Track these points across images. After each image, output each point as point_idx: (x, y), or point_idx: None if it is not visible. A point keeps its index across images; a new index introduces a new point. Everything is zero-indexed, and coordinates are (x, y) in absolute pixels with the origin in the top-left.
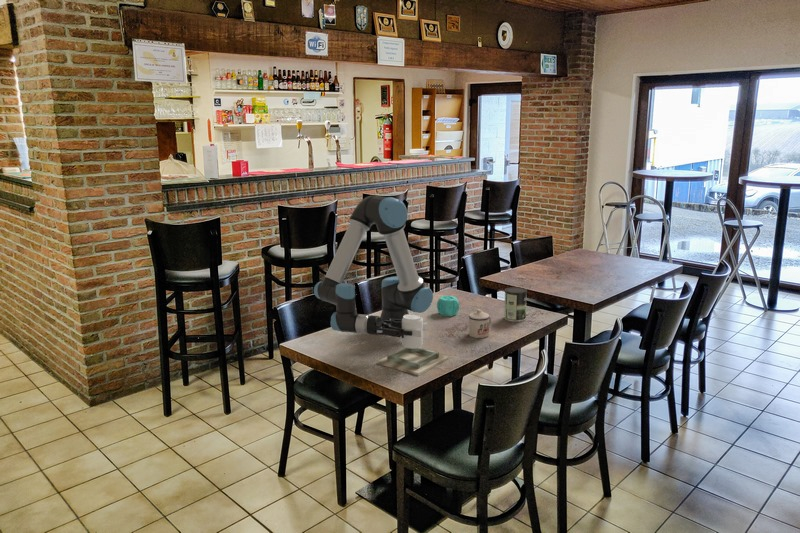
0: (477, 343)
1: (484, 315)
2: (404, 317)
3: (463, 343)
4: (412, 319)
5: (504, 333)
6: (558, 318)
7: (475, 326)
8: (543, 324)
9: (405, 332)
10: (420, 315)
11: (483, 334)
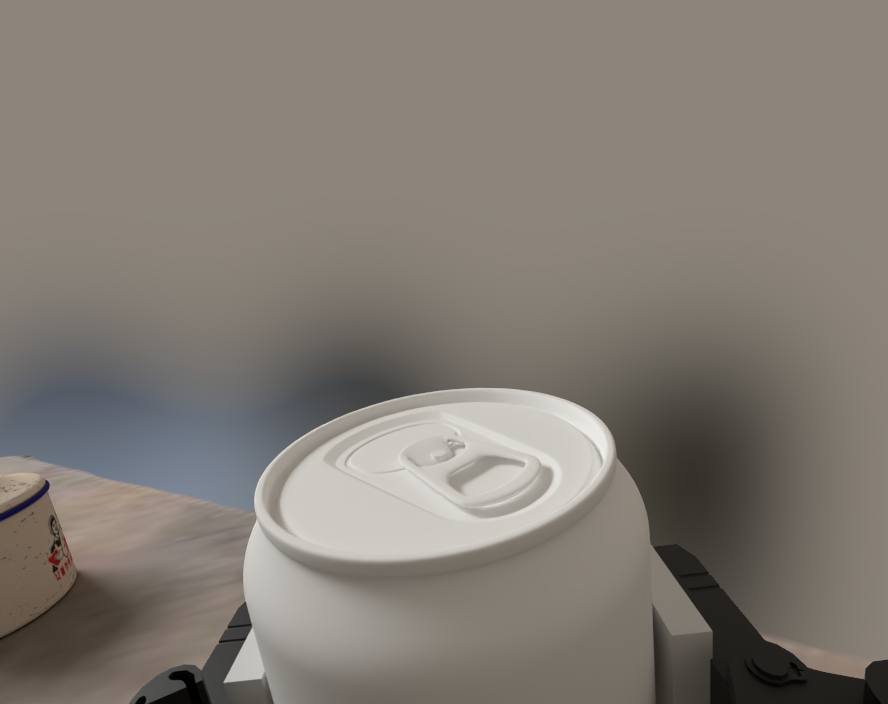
0: (147, 581)
1: (15, 475)
2: (512, 530)
3: (112, 642)
4: (578, 407)
5: (64, 529)
6: (15, 460)
7: (27, 549)
8: (45, 472)
9: (745, 632)
10: (359, 410)
11: (71, 560)
